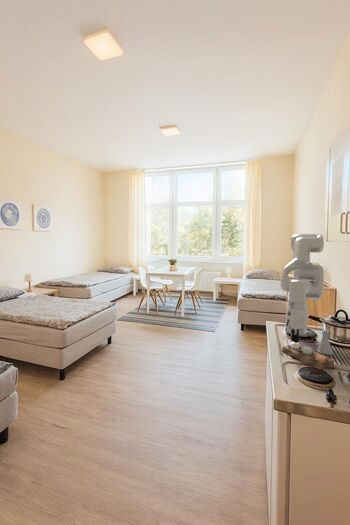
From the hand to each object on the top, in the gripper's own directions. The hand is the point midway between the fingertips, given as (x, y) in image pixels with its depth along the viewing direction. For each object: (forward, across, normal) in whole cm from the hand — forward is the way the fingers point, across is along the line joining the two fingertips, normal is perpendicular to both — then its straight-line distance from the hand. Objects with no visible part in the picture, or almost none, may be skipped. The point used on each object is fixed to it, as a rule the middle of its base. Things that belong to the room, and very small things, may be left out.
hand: (294, 341), depth 130 cm
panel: (+6, +1, -6) cm, 9 cm away
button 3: (+6, +1, -14) cm, 15 cm away
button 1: (+4, +1, 0) cm, 4 cm away
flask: (+6, +15, -6) cm, 17 cm away
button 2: (+4, +1, -7) cm, 8 cm away
